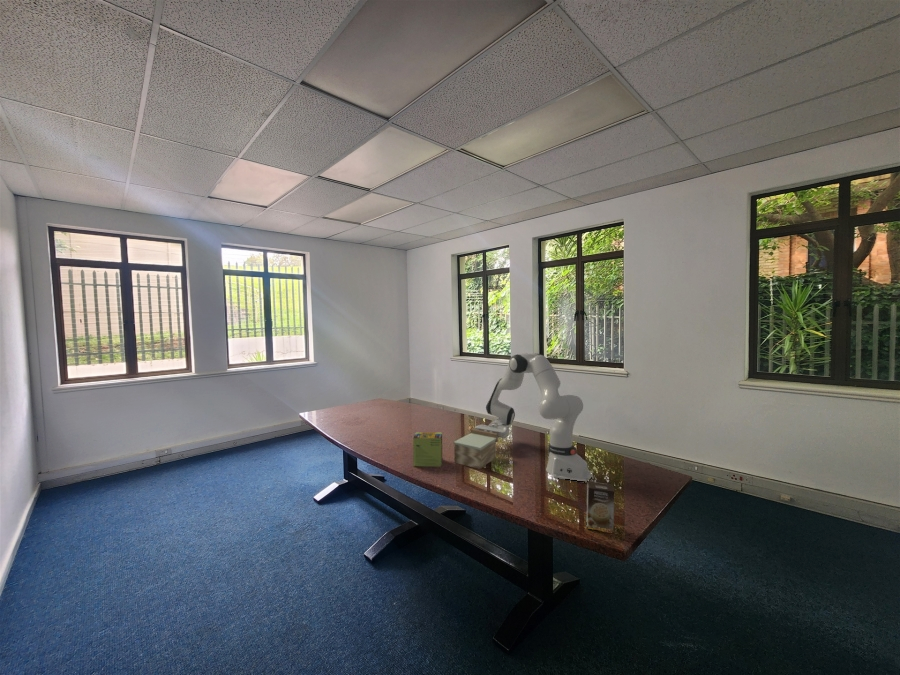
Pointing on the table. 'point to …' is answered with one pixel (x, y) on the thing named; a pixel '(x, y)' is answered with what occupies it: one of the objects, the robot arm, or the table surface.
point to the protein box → (427, 449)
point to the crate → (474, 455)
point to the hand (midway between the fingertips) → (485, 434)
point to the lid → (477, 439)
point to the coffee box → (600, 505)
